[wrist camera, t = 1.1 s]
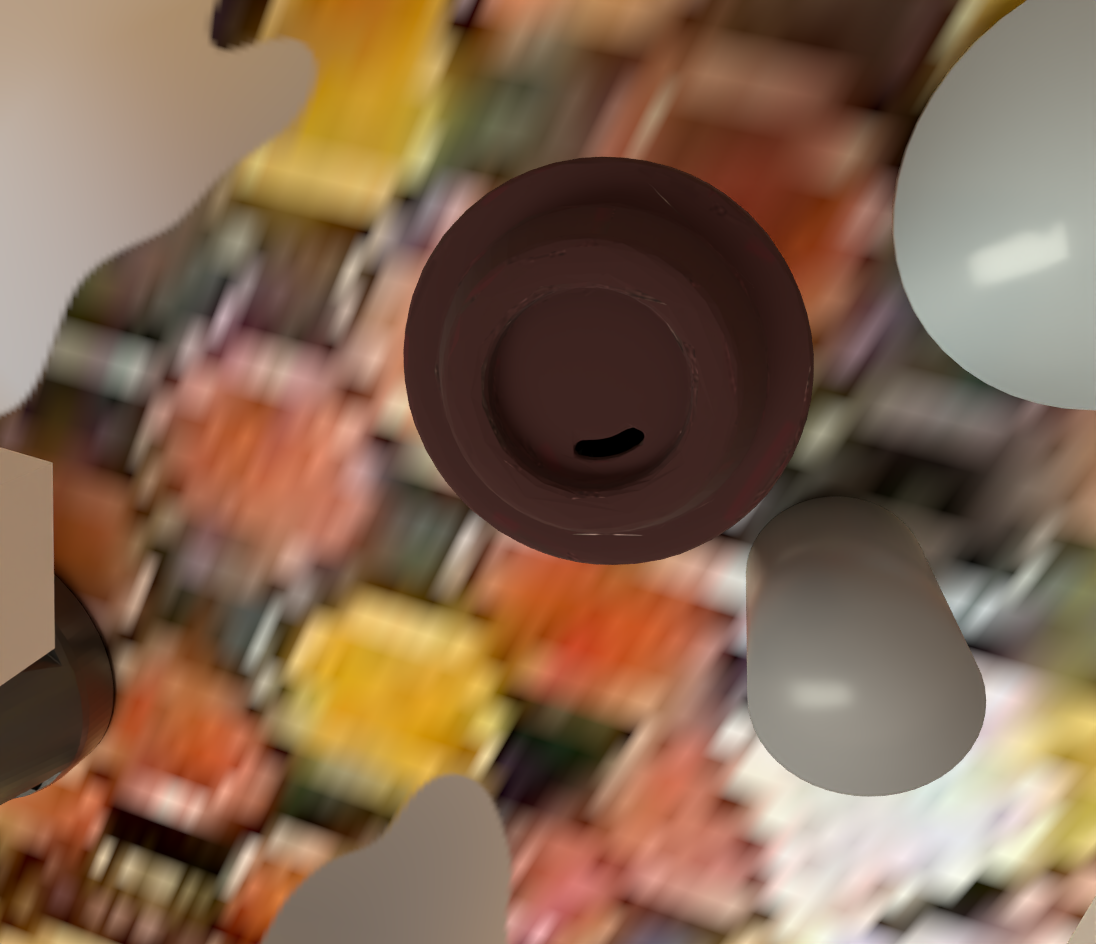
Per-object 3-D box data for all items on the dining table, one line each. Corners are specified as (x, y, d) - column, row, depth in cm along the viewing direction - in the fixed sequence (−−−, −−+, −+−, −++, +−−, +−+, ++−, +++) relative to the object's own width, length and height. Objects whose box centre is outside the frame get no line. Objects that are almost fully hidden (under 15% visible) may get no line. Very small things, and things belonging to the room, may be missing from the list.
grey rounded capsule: (725, 623, 36) (721, 756, 28) (775, 476, 34) (786, 573, 25) (889, 672, 35) (934, 824, 27) (953, 524, 33) (1024, 642, 25)
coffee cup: (565, 131, 31) (424, 96, 17) (827, 208, 30) (899, 236, 16) (500, 381, 35) (342, 516, 21) (732, 457, 34) (725, 652, 20)
